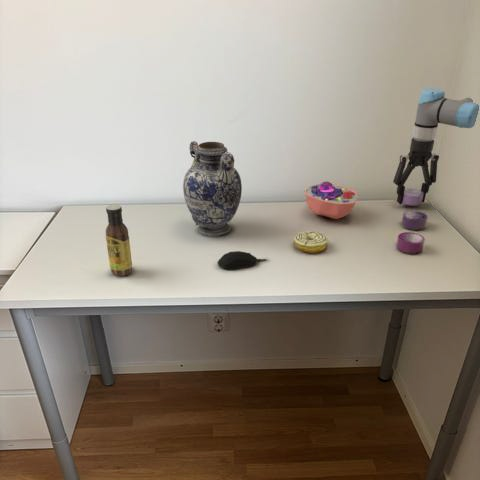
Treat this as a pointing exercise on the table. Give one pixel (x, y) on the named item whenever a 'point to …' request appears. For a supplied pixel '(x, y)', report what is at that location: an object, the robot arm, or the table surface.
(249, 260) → the gaming mouse
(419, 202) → the dish
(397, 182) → the robot arm
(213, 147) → the decorative vase
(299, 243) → the decorated donut
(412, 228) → the dish middle
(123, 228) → the sauce bottle
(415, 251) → the dish
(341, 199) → the cell model
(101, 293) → the table surface
